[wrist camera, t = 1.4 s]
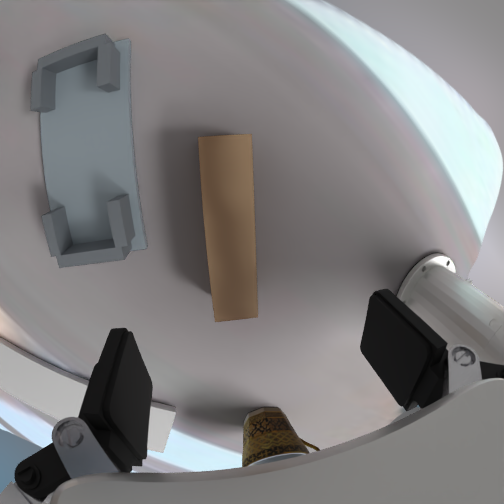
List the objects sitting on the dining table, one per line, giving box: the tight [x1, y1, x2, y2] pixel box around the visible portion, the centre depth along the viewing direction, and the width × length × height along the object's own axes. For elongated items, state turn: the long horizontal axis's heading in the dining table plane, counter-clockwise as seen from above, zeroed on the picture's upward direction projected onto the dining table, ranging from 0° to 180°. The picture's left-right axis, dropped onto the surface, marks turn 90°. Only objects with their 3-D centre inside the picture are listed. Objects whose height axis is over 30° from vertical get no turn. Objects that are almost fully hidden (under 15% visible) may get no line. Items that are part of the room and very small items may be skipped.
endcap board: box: [31, 34, 148, 268], centre depth 19 cm, size 10×21×4 cm, turn 3°
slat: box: [198, 134, 258, 322], centre depth 24 cm, size 4×16×5 cm, turn 2°
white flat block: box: [0, 337, 176, 453], centre depth 30 cm, size 34×5×10 cm
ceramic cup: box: [242, 407, 320, 467], centre depth 34 cm, size 13×10×10 cm
